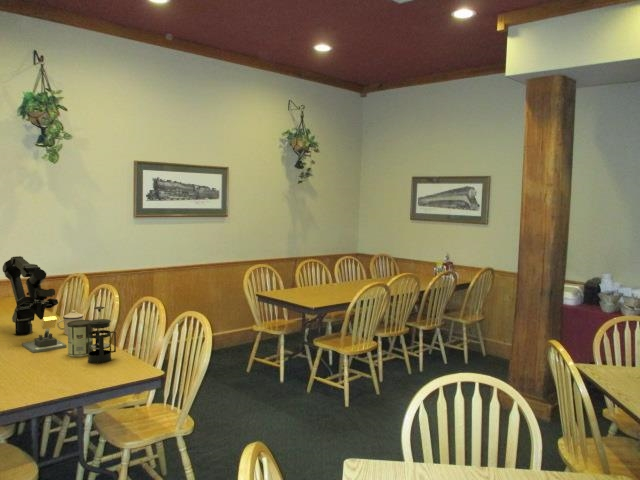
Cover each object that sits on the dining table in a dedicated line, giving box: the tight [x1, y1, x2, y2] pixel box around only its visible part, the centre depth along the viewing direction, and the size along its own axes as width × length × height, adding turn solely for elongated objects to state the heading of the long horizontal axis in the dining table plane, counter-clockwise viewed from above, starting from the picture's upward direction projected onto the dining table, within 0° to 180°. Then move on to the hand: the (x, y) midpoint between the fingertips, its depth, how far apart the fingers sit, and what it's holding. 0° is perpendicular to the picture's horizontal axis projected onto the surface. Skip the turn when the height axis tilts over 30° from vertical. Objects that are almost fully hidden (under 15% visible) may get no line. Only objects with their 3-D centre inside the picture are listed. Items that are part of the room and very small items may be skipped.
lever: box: [41, 315, 57, 338], centre depth 240 cm, size 2×5×11 cm
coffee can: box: [67, 319, 94, 358], centre depth 235 cm, size 10×10×14 cm
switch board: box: [21, 332, 67, 354], centre depth 245 cm, size 16×14×6 cm
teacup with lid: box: [56, 309, 84, 336], centre depth 268 cm, size 12×9×12 cm
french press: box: [87, 306, 117, 365], centre depth 226 cm, size 12×9×23 cm
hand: (41, 319), depth 249 cm, fingers closed
